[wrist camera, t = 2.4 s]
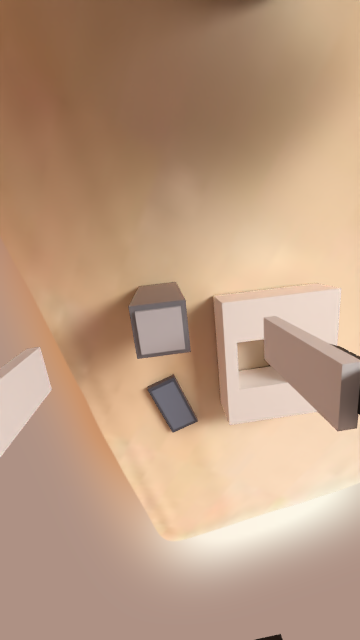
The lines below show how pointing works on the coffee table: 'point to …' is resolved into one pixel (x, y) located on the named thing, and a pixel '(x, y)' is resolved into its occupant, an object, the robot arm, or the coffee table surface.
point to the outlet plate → (248, 325)
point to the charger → (159, 320)
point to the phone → (172, 403)
